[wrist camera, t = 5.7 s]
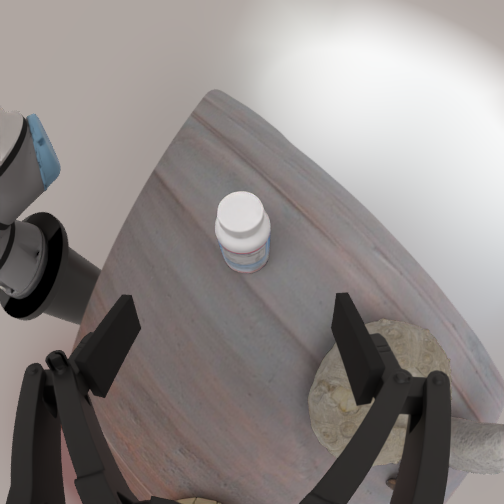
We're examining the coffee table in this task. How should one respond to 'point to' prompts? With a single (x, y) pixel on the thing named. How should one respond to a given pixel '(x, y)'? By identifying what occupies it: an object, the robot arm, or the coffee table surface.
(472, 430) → the decorative stone
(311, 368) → the coffee table surface
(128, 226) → the coffee table surface
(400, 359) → the beige rounded piece
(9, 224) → the robot arm
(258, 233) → the pill bottle
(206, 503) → the segmented block ring
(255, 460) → the coffee table surface
